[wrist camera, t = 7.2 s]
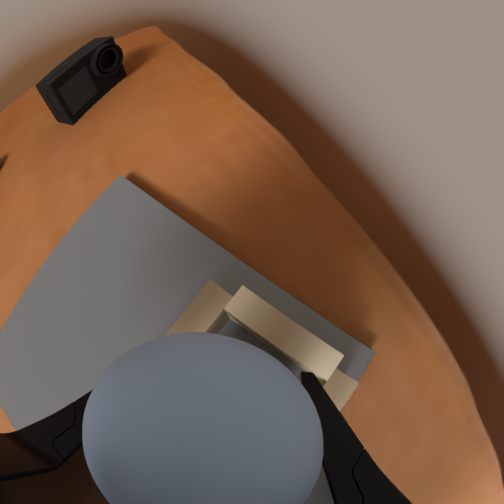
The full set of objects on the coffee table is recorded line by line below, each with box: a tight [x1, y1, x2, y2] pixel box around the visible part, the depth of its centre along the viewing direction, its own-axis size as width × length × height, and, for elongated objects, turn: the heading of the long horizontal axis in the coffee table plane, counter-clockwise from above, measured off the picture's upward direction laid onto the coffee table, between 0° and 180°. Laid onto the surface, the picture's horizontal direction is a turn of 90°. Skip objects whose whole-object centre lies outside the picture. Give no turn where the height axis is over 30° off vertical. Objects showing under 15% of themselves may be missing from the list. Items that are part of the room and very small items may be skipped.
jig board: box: [0, 175, 375, 431], centre depth 15 cm, size 23×23×1 cm
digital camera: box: [36, 36, 126, 125], centre depth 25 cm, size 10×5×7 cm, turn 153°
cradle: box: [165, 280, 359, 411], centre depth 13 cm, size 9×9×3 cm
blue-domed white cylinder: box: [82, 332, 323, 504], centre depth 8 cm, size 4×4×12 cm
